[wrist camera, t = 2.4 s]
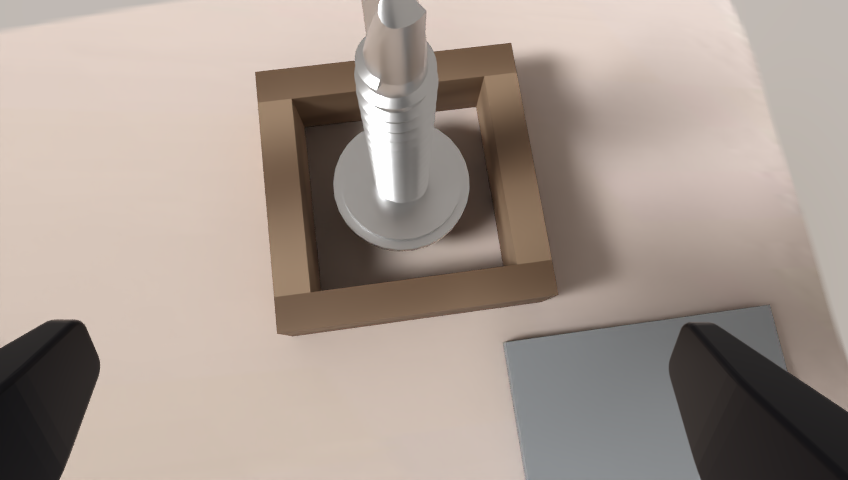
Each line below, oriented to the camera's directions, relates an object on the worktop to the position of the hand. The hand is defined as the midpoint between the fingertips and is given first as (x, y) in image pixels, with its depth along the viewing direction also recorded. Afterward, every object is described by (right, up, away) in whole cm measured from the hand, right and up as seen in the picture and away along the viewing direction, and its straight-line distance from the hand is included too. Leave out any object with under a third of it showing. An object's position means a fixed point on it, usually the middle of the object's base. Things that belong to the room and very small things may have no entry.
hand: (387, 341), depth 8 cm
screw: (0, +3, +14) cm, 14 cm away
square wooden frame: (0, +3, +13) cm, 14 cm away
